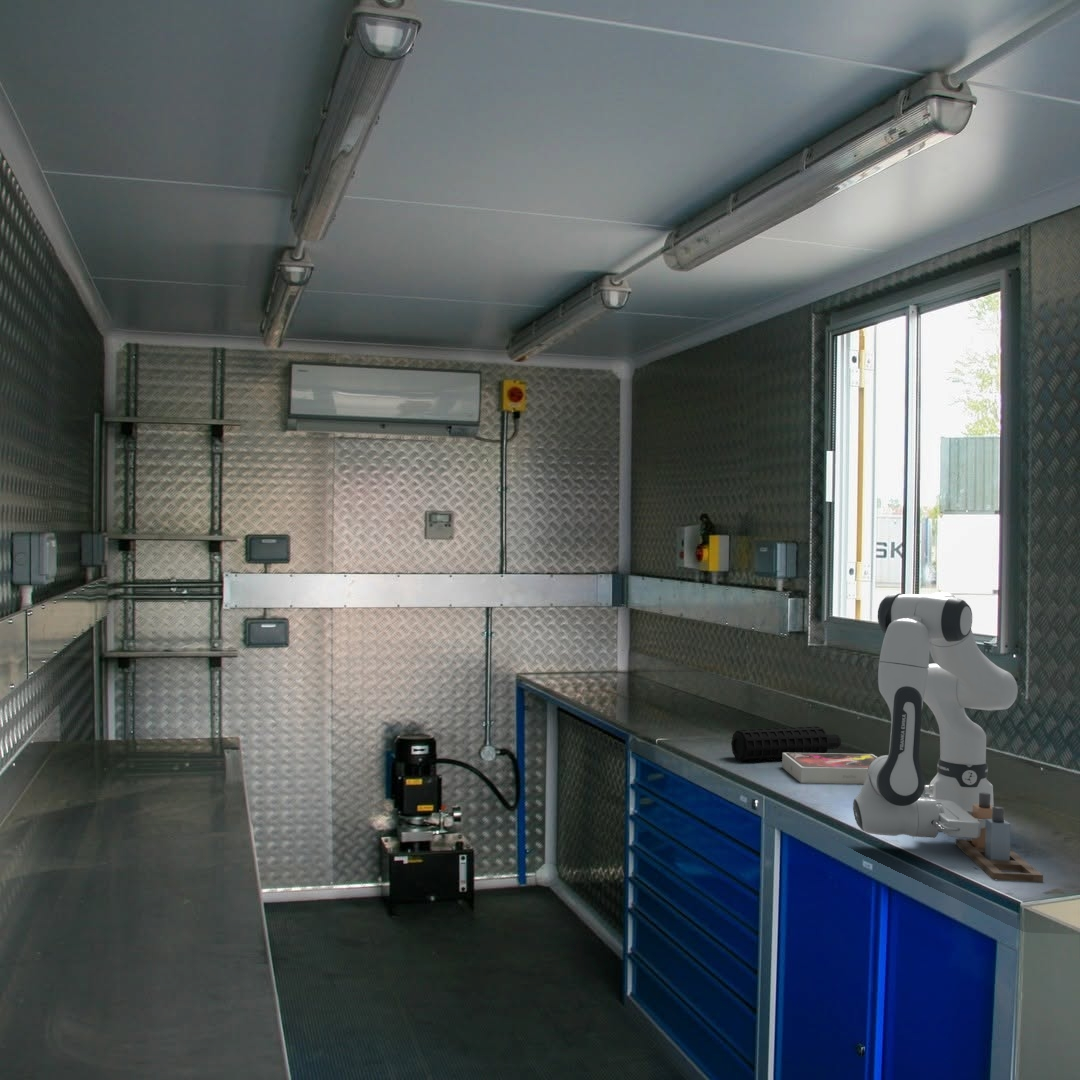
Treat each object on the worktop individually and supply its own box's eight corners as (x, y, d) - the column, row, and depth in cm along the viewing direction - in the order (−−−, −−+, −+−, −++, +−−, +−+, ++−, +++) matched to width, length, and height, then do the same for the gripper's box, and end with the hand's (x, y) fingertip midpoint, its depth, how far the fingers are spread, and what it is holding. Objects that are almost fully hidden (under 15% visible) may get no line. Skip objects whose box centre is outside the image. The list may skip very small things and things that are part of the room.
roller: (827, 747, 365) (833, 720, 362) (844, 761, 356) (850, 734, 353) (726, 752, 352) (732, 724, 349) (741, 767, 343) (747, 739, 340)
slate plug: (984, 858, 243) (985, 805, 243) (1003, 859, 243) (1004, 805, 243) (990, 864, 239) (992, 809, 239) (1009, 865, 239) (1010, 810, 239)
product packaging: (782, 768, 338) (782, 752, 338) (872, 770, 339) (872, 754, 339) (801, 784, 317) (801, 767, 317) (897, 786, 318) (897, 769, 318)
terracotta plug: (971, 843, 252) (973, 791, 252) (989, 844, 252) (990, 792, 252) (977, 848, 248) (978, 795, 248) (995, 849, 248) (996, 796, 248)
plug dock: (955, 845, 254) (956, 839, 254) (1000, 847, 254) (1000, 840, 254) (993, 880, 228) (993, 873, 228) (1042, 882, 228) (1043, 875, 228)
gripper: (939, 815, 241) (1004, 817, 240) (915, 793, 261) (974, 795, 260) (939, 843, 241) (1003, 846, 240) (914, 819, 261) (973, 822, 260)
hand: (988, 820), depth 250 cm, fingers closed on terracotta plug, 4 cm apart
